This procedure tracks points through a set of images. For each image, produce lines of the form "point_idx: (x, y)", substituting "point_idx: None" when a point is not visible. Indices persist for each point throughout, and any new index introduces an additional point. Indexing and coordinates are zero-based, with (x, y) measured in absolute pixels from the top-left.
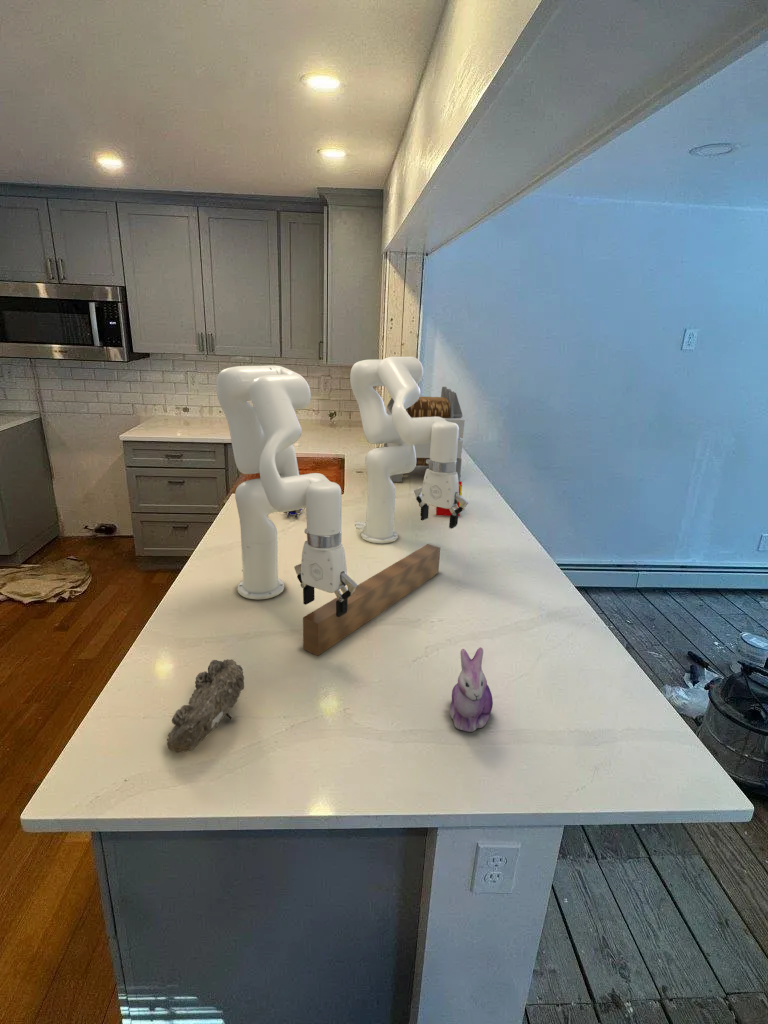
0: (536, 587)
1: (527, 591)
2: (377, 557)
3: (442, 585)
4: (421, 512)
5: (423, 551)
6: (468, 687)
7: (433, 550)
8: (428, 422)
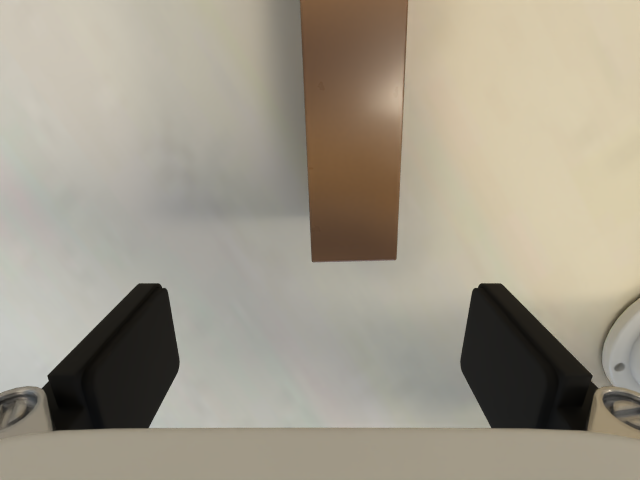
0: (8, 339)
1: (5, 296)
2: (606, 173)
3: (241, 131)
4: (540, 329)
5: (359, 150)
6: None
7: (320, 203)
8: None
